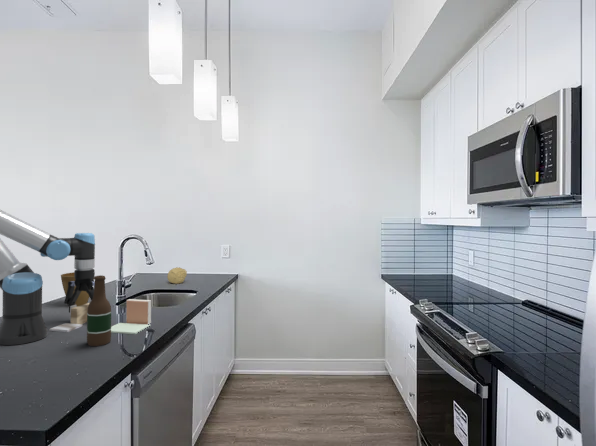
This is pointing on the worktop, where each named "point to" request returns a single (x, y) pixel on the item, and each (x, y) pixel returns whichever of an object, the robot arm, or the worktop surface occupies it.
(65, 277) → the plant pot
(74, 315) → the turner
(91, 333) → the beer bottle
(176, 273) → the beige lumpy ball
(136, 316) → the tile
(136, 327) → the mat
